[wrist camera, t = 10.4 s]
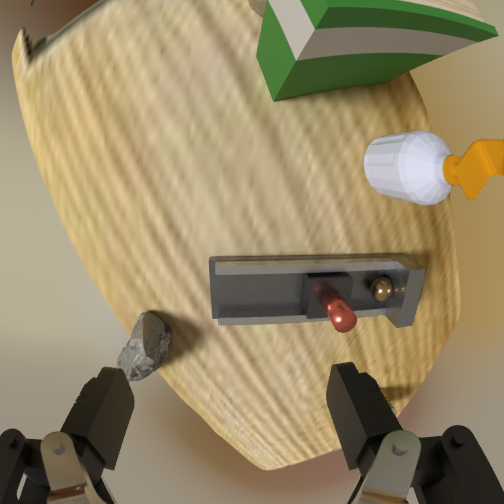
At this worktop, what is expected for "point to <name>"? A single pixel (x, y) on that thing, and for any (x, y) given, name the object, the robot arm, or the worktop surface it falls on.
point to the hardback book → (359, 40)
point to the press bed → (292, 279)
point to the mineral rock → (145, 347)
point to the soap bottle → (429, 166)
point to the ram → (329, 298)
